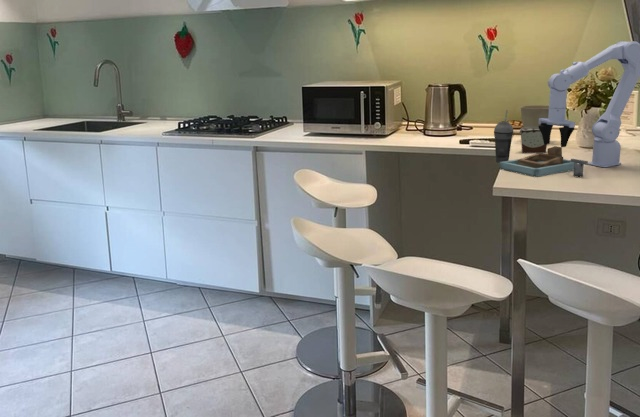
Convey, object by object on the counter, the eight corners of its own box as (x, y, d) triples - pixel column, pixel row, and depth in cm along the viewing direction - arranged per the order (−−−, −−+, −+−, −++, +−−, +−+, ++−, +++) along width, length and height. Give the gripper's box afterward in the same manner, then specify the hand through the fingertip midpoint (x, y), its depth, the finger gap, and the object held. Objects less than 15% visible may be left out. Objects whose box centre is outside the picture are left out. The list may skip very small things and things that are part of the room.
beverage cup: (503, 159, 247) (505, 108, 242) (516, 162, 241) (519, 109, 236) (488, 161, 244) (490, 109, 239) (501, 164, 238) (503, 111, 233)
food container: (545, 150, 263) (547, 126, 261) (549, 152, 258) (551, 128, 255) (515, 150, 265) (516, 126, 262) (518, 153, 259) (519, 128, 256)
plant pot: (560, 142, 280) (563, 106, 276) (542, 146, 271) (544, 109, 267) (530, 139, 292) (532, 104, 287) (512, 143, 282) (513, 107, 278)
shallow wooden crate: (546, 156, 237) (546, 144, 236) (571, 160, 228) (570, 148, 227) (517, 166, 231) (517, 154, 230) (541, 171, 222) (541, 159, 220)
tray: (541, 161, 241) (542, 155, 240) (579, 168, 227) (579, 161, 226) (499, 168, 231) (499, 162, 230) (535, 176, 216) (536, 169, 216)
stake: (573, 173, 219) (574, 158, 218) (588, 176, 214) (589, 160, 212) (567, 175, 218) (568, 159, 216) (582, 178, 213) (583, 162, 211)
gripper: (533, 107, 231) (531, 144, 234) (566, 110, 219) (563, 149, 222) (547, 105, 234) (544, 142, 238) (580, 108, 222) (577, 147, 226)
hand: (554, 145), depth 230 cm, fingers open, 7 cm apart
